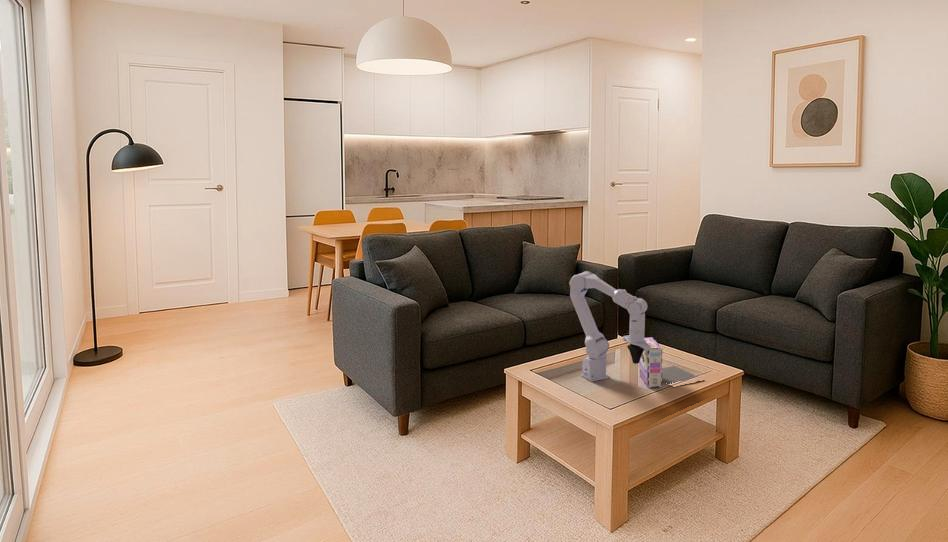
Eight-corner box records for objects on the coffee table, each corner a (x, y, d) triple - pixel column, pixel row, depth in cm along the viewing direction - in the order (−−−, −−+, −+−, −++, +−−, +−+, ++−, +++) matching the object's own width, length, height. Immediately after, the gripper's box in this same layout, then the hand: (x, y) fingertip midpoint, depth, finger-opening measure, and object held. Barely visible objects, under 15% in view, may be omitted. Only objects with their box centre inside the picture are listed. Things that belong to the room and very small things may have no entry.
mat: (673, 387, 237) (673, 386, 237) (644, 372, 253) (644, 371, 253) (705, 380, 243) (705, 379, 243) (674, 366, 259) (674, 365, 259)
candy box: (662, 387, 237) (662, 347, 233) (647, 388, 237) (647, 348, 233) (653, 374, 250) (653, 336, 247) (638, 374, 250) (638, 337, 247)
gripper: (657, 333, 230) (656, 367, 233) (633, 323, 244) (632, 355, 246) (642, 335, 228) (641, 370, 231) (619, 326, 241) (618, 358, 244)
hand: (635, 362), depth 238 cm, fingers closed
